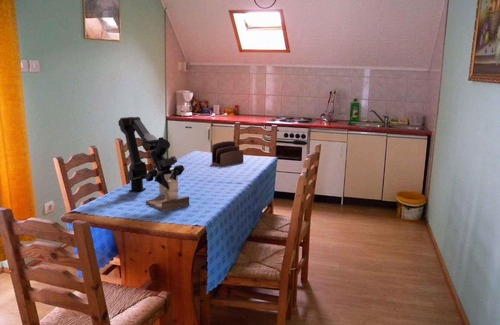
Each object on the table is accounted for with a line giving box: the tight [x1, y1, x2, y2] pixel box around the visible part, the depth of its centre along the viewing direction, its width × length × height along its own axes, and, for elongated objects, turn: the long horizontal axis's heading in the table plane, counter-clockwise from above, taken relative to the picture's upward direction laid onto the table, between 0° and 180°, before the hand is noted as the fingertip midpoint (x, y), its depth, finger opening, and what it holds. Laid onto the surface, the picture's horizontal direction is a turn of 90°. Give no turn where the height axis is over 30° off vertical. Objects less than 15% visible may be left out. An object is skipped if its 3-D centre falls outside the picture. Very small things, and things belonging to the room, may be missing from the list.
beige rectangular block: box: [164, 179, 179, 201], centre depth 200 cm, size 5×4×10 cm
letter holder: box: [211, 140, 244, 167], centre depth 289 cm, size 10×20×14 cm, turn 131°
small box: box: [158, 166, 179, 196], centre depth 220 cm, size 8×6×13 cm
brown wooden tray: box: [145, 195, 190, 213], centre depth 204 cm, size 16×14×4 cm
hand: (172, 188), depth 199 cm, fingers closed on beige rectangular block, 4 cm apart
